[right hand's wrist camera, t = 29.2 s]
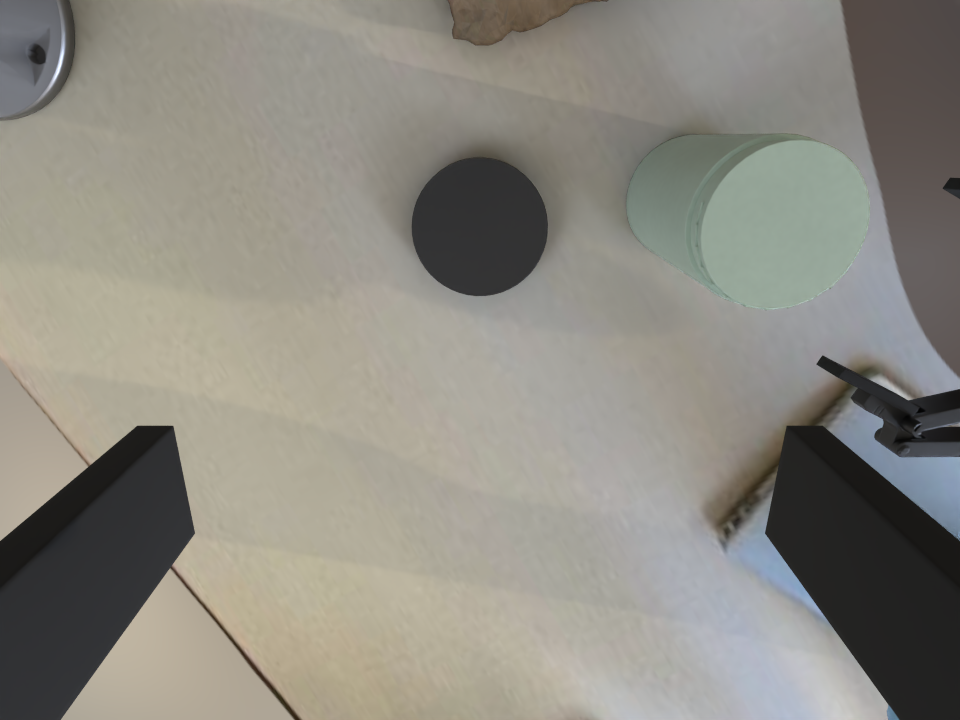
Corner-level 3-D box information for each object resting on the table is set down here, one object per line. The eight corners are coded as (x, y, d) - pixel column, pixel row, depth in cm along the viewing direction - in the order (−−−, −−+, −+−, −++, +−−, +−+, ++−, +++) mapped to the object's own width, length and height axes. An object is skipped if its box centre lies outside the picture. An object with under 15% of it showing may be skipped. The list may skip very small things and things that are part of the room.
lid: (519, 306, 54) (521, 312, 52) (399, 267, 52) (396, 272, 50) (564, 182, 50) (567, 184, 48) (435, 138, 49) (433, 138, 47)
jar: (601, 208, 51) (658, 242, 34) (687, 107, 48) (794, 91, 32) (685, 282, 53) (776, 346, 37) (772, 189, 50) (913, 214, 34)
